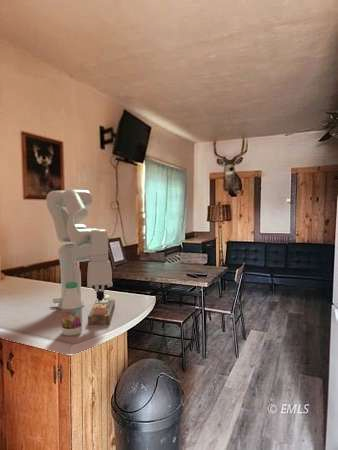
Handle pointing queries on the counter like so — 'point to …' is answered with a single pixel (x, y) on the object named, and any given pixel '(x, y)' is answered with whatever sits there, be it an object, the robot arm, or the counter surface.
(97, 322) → the button board
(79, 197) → the robot arm
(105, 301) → the button two
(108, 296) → the button one
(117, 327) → the counter surface
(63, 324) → the milk bottle
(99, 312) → the button three
